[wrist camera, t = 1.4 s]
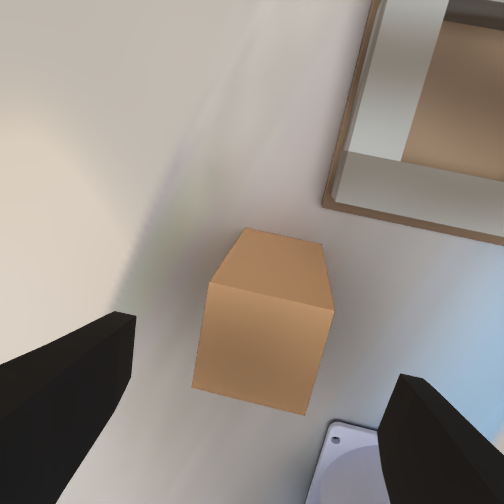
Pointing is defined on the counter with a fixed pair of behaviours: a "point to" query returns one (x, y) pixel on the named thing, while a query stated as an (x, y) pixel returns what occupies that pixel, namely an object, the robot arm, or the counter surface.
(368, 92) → the socket block
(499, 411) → the counter surface
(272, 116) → the counter surface
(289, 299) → the peg
